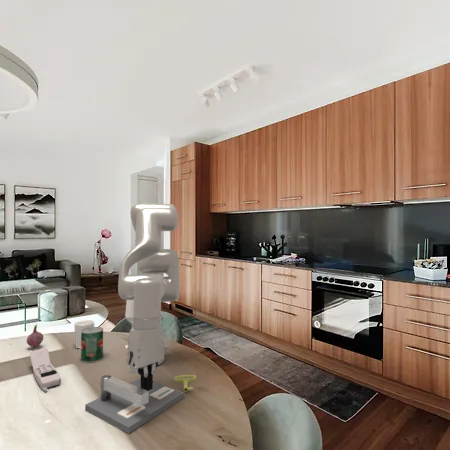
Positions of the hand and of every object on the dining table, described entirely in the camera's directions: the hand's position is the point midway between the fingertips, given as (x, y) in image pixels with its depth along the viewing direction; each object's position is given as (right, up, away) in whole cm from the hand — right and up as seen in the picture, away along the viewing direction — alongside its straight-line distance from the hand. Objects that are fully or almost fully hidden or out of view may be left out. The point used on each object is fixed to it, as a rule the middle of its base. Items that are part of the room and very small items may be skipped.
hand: (146, 388), depth 87 cm
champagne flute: (-18, -7, +47) cm, 51 cm away
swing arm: (-6, -3, -3) cm, 7 cm away
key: (+9, -6, +13) cm, 17 cm away
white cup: (-39, -7, +47) cm, 61 cm away
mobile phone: (-39, -6, +18) cm, 43 cm away
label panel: (-3, -5, +1) cm, 6 cm away
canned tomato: (-30, -6, +33) cm, 45 cm away
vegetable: (-58, -7, +44) cm, 73 cm away
